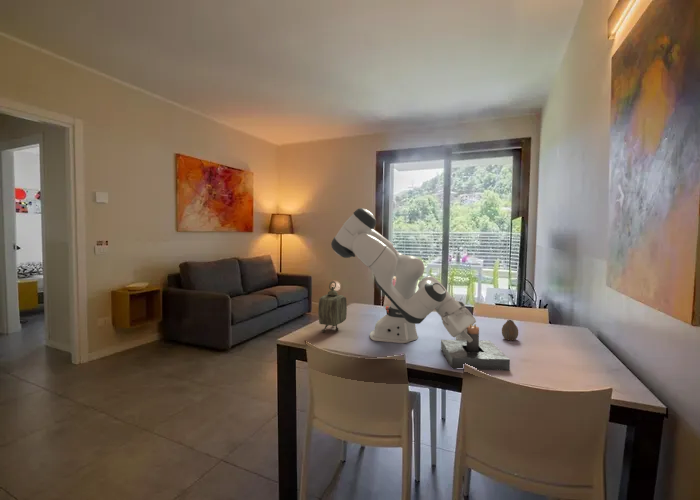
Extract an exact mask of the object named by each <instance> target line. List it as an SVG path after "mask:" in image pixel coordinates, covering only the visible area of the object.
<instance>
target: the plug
mask: <svg viewBox="0 0 700 500" xmlns="http://www.w3.org/2000/svg"><path fill="white" fill-rule="evenodd" d="M467 334H468V335H469V336H471V337H472V338H473V339H474V340H473V341H472V342H470V343H469V342H468V341H467V352H479V341H480V327H479V326H477V324H475V323H474V324H473V326H472V324H470V326H469V327H467Z"/></svg>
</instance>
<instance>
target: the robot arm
mask: <svg viewBox="0 0 700 500" xmlns="http://www.w3.org/2000/svg"><path fill="white" fill-rule="evenodd" d="M376 225H377V219H376V217H375V215H374V214H373V213H372V212H371V211H370V210H368V209H366V208H362V207H359V208H357V209H356V210H354V212H352V215H350V216H349V218H348V219H346V221H345V222H343V224H342V226H341V227H340V229H339V230H338V232H337V233H336V235H335V236H334V237H333V239H332V240H331V242H330V244H331V248H332V250H333V252H334V253H335V254H336V255H338V256H340V257H341V258H345V259H350V258H352V257H353V258H355V257H357V259H358V260H360V261H361V262H362V263H363V264H364V265H365V266H366V267H368V269H370V270H371V272H372V273H373V275H374V283H375V284H376V286H377V287H378V289H380V290H381V292H382V293H383V294H384V296H386V297H387V299H388V300H389V301H390V306H389V305H386V306H385V307H384V308H385V311H386V314H385V315H384V316H383V317H381V318H380V319H379V320H378V319H377V321H376V323H375V326H374V329H373V330H371V332H370V333H369V338H370V339H371V340H372V341H374V342H375V341H376V342H383V343H384V342H386V343H395V344H396V343H399V344H407V343H409V342H412V341H415V340H418V338H419V335H418V333H417V328H416V327H417V326H416V325H419V324H421V323H422V322H423V321H424V320H425V319H426V318H427V317H428V316H429V315H430V314H431V313H432V312H434V311H436V313H437V314H438V315H439V316H440V317H441V321H442V324H443V326H444V328H445V330H446V331H447V332H448V333H449V335H450V336H451V337H453V338H456V336H457V335H459V334H460V335H461V336H462V337H463V338H465V339H466V340H467V341H468V342H469V343H470V342H472V341H473V340H474V339H473V338H472V337H471V336H469V335H468V334H467V332H466V331H465V330H466V329H467V327H469V326H470V324H472V325H473V326H474V324H475V323H477V320H476V318H475V316H474V315H473V314H472V313H471V311H470V310H469V309H468V308H466V304H465V303H464V302H463V301H458V300H456V299H455V298H454V297H453V296H452V295H451V294H450V293H449V292H448V290H447V288H445V286H444V285H443V284H442V283H441V282H439V279H436V278H435V277H434V276H432V275H428V276H426V277H424V278H422V279H420V278H421V277H422V276H423V275H424V272H425V263H424V262H423V261H422V260H421V259H420V258H418V257H416V256H415V255H411V254H410V255H408V254H403V253H401V252H399V251H398V250H397V249H396V248H395V247H394V245H393V243H392V242H391V241H390V240H389V239H387V238H386V237H385V236H383V235H382V234H381V233H380V232H379V231H377V230H375V227H376ZM393 277H395V282H394V284H393ZM419 280H420V281H419ZM418 281H419V282H418ZM417 286H418V290H416V289H417Z"/></svg>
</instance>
